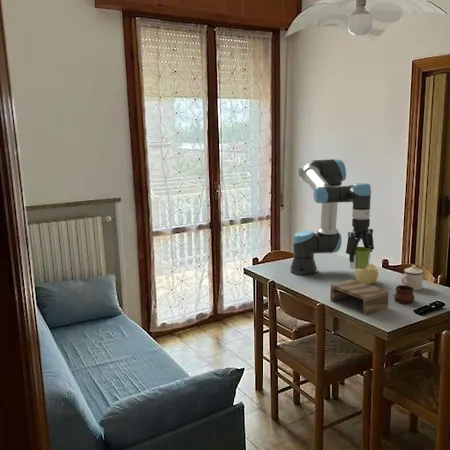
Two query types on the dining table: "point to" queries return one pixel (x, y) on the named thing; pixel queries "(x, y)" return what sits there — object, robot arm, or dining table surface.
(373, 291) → the walnut shelf
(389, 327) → the dining table surface
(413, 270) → the teacup with lid
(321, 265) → the dining table surface
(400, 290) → the ceramic pot
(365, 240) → the robot arm
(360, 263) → the plant pot
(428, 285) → the dining table surface
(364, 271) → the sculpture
